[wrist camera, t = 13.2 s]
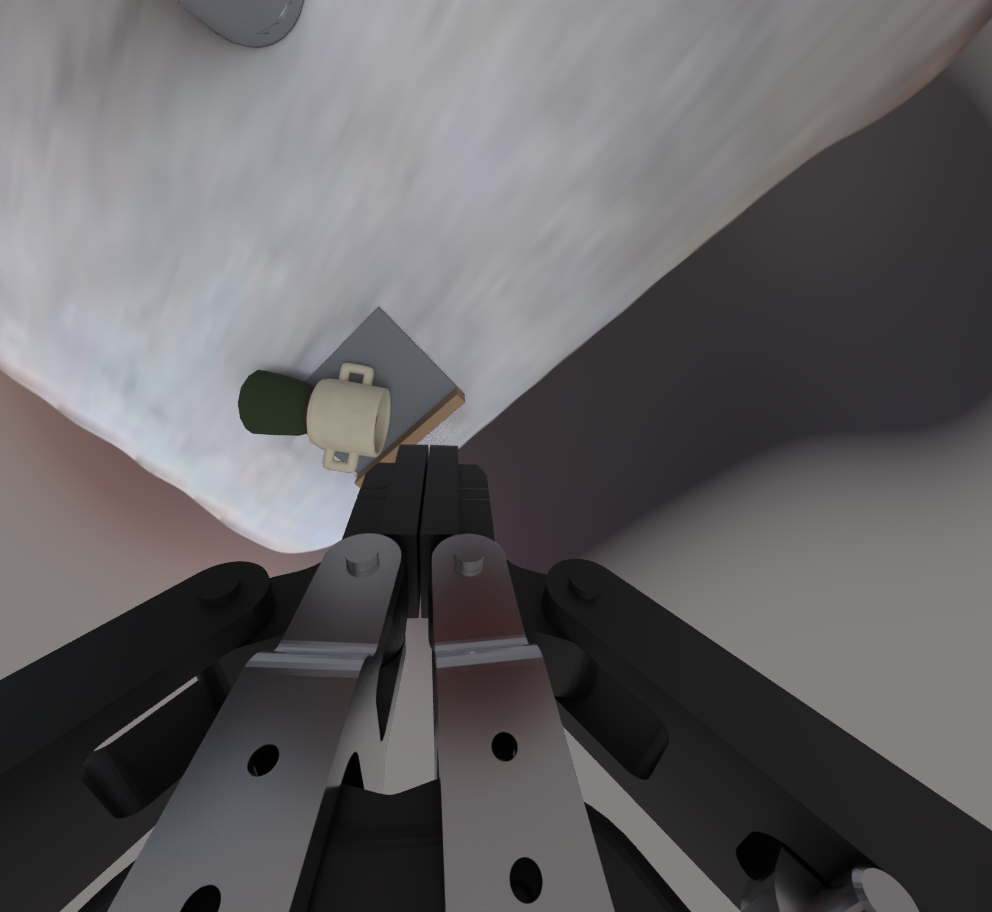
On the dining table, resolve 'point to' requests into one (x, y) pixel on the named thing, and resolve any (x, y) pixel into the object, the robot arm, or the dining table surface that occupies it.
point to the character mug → (320, 412)
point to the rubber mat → (394, 384)
